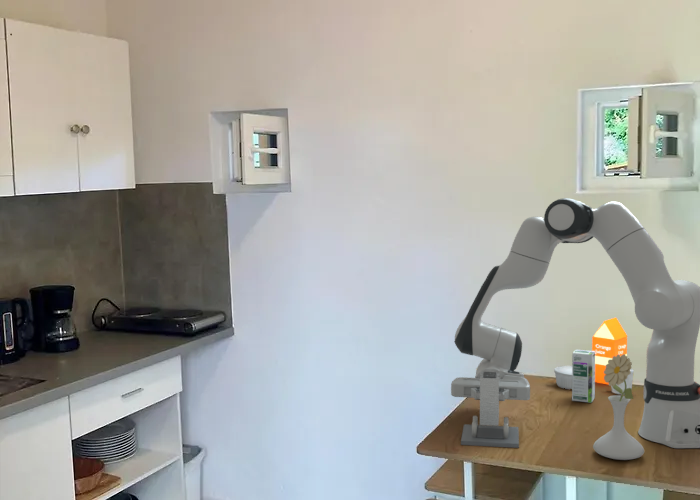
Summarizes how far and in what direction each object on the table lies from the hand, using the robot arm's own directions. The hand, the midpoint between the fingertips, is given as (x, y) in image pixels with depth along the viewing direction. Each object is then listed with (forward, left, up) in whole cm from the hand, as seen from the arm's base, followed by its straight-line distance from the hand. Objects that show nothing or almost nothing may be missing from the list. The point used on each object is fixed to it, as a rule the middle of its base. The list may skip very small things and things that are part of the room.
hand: (489, 397), depth 194 cm
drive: (0, -1, -6) cm, 7 cm away
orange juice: (-36, -62, -11) cm, 72 cm away
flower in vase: (-30, +8, -11) cm, 33 cm away
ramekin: (-24, -54, -11) cm, 60 cm away
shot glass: (-38, -49, -11) cm, 63 cm away
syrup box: (-26, -39, -11) cm, 48 cm away
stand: (0, -1, -11) cm, 11 cm away
